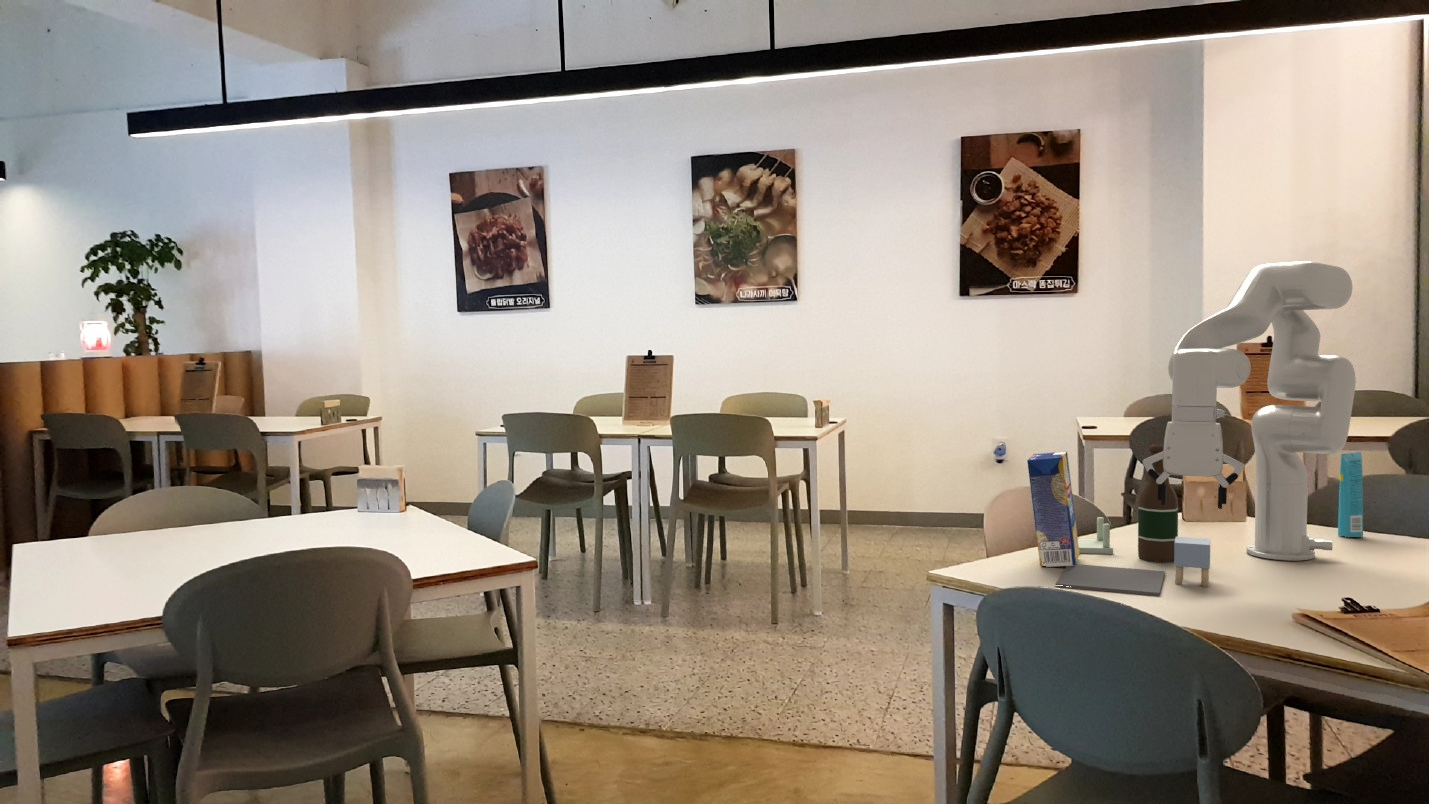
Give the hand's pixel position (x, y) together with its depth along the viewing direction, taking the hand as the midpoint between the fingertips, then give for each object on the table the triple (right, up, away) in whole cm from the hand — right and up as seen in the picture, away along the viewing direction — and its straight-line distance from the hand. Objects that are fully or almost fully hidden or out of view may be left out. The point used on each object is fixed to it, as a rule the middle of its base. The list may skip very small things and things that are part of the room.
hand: (1191, 506), depth 191 cm
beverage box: (-18, -14, +20) cm, 30 cm away
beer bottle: (+3, -14, +21) cm, 25 cm away
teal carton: (+55, -11, +40) cm, 69 cm away
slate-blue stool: (+1, -15, +1) cm, 15 cm away
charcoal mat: (-14, -15, +4) cm, 20 cm away
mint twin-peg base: (-8, -13, +33) cm, 36 cm away
